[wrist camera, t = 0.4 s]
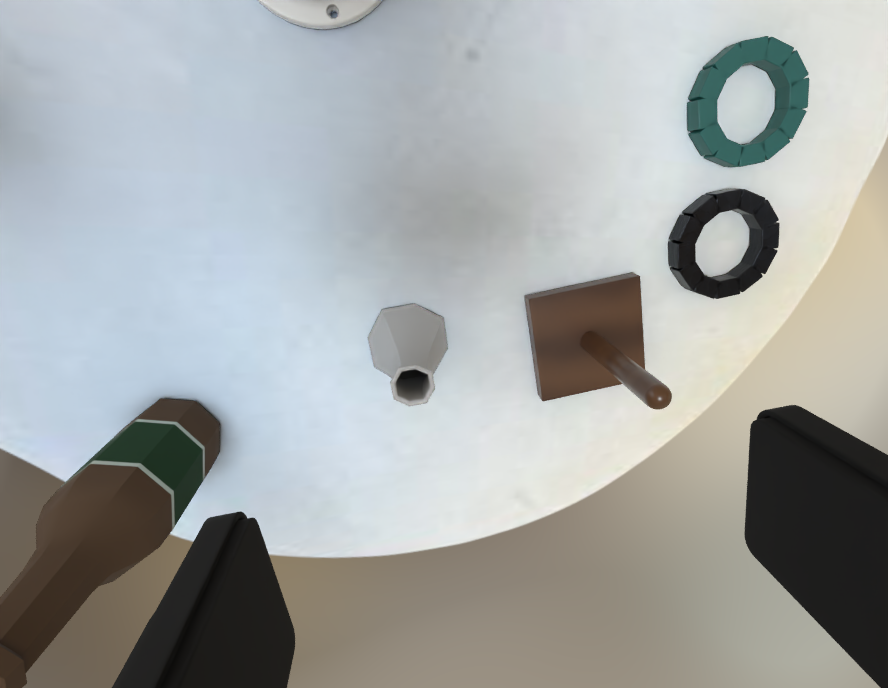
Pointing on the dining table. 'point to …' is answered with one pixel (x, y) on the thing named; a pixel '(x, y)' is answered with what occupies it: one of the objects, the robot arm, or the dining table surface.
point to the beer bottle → (105, 524)
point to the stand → (591, 340)
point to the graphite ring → (755, 258)
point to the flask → (408, 350)
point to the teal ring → (788, 102)
